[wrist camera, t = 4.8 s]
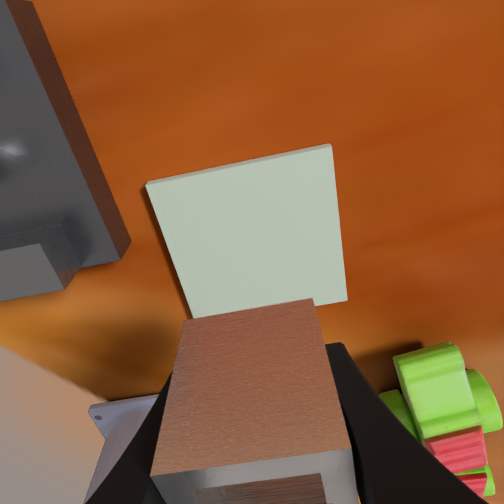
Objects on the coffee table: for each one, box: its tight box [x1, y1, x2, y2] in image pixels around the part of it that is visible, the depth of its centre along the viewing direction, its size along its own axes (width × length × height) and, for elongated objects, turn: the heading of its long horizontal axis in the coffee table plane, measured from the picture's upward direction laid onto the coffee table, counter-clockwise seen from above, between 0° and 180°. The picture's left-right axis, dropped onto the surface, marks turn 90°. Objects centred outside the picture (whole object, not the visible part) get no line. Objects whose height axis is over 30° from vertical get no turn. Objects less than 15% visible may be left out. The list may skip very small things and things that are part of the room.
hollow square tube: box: [150, 298, 359, 504], centre depth 11 cm, size 6×4×5 cm
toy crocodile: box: [379, 342, 503, 499], centre depth 26 cm, size 20×7×6 cm, turn 17°
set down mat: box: [145, 143, 348, 318], centre depth 20 cm, size 9×9×1 cm
